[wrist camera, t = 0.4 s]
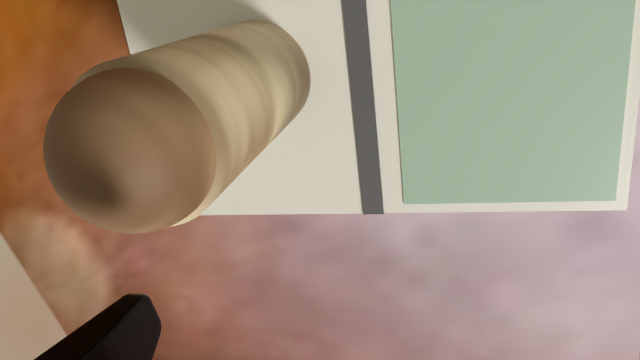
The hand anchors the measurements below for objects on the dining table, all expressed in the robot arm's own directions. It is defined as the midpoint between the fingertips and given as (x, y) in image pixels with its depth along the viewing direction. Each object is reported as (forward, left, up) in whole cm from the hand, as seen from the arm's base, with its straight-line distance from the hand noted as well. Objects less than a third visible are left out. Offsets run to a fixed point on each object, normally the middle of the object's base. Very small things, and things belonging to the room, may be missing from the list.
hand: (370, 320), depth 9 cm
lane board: (0, +3, -15) cm, 15 cm away
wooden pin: (-3, +7, -15) cm, 16 cm away
